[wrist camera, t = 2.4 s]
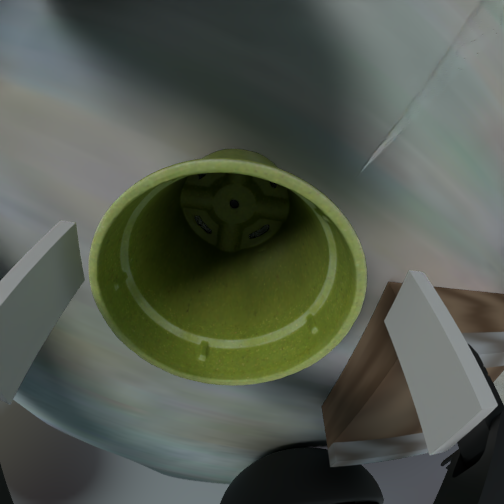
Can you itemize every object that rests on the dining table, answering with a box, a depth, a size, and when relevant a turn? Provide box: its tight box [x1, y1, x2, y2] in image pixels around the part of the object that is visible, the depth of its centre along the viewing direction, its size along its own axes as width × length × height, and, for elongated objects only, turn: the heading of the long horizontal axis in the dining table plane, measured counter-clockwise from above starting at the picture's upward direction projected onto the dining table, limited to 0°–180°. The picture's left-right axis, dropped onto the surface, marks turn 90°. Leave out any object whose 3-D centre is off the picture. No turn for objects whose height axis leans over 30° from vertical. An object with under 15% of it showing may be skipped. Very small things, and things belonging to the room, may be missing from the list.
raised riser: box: [322, 282, 504, 467], centre depth 22 cm, size 14×16×7 cm
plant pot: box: [89, 149, 367, 385], centre depth 14 cm, size 9×9×9 cm
